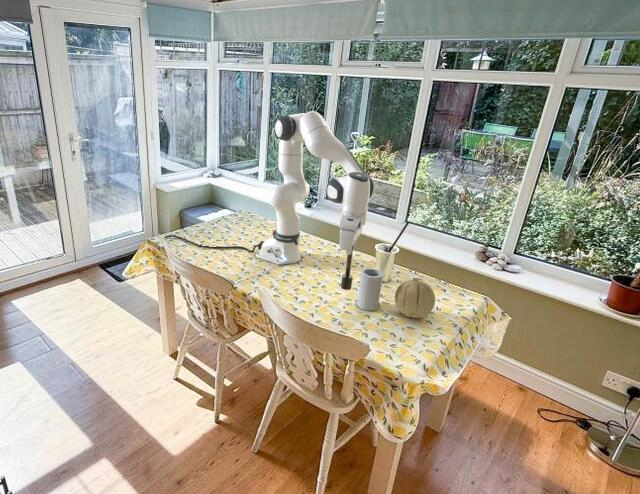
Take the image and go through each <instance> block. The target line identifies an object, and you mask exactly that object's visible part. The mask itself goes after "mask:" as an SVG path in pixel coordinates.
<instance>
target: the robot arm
mask: <svg viewBox="0 0 640 494" xmlns="http://www.w3.org/2000/svg"><path fill="white" fill-rule="evenodd" d="M274 132H275V136H276V137H277V139H278V140H279V141H278V142H279V143H278V161H277V162H278V165H277V166H278V167H277V169H278V171H279V172H280V173H281V174H282V178H283V183H282V184H280V185H277V186H276V187H275V188H273V189H272V190H271V191H270V192H269V194H268V202H269V205H271V206H272V208H273V209H274V210H275V215H276V227H275V229H274V230H273V231H272V232H271V237H269V238H267V239H266V240H260V242H259V243H258V244H255V245H254V246H253V248H252V250H251V249H249V248H247V247H244V246H240V245H234V246H233V245H231V246H216V247H209V246H210V245H206V246H202V245H203V244H200V245H198V244H199V243H197V244H194V243H195V242H194V241H191V240H188V239H187V238H185V237H182V236H179V235H174V234H167V235H166V236H165V237H164V239H168V238H176V239H180V240H183V241H185V242H187V243H189V244H192V245H195V246H198V247H202V248H209V249H243V250H245V251H247V252H250V253H253V252H255V250H256V248H257V252H256V253H255V256H256V258H258V259H261V260H263V261H264V260H265V261H267V262H270V263H273V264H277V265H278V266H282V265H285V264H286V265H287V264H294V263H298V262H299V261H300V260H301V258H302V257H301V251H300V239H301V232H300V223H301V218H300V215H299V214H298V213H297V210H296V205H297V204H298V203H300V202H302V201H304V200H305V199H307V197H309V195H310V191H311V190H310V185H309V184H308V182H307V181H306V179H305V176H304V171H303V170H304V169H303V165H304V163H303V162H304V161H303V159H304V156H303V154H304V146H303V145H304V144H305V146H306V148H307V149H306V150H308V151H309V153H310V154H311V155H312V156H313V157H316V158H319V159H323V160H328V161H332V162H335V163H337V164H339V165H340V166H341V167H342V169H343V170H344V171H345V173H346V175H343V176H337V177H333V178H331V179H330V180H329V181H328V183H327V186H326V195H327V198H328V199H329V201H331V202H332V203H334V204H340V205H342V208H341V214H340V215H341V217H340V218H341V219H340V221H339V224H338V227H339V229H340V230H339V249H340V250H342V251H345V254H346V255H347V254H348V255H351V253H352V246H353V251H354V250H355V246H356V242H357V240H358V239H359V238H360V236H361V234H362V232H363V226H365V225H366V223H367V217H368V203H369V200H370V199H371V198H372V196H373V195H374V193H375V190H376V186H375V185H376V184H375V182H374V180H373V179H372V177H371V176H370V175H369V174H368V173H367V172H366V171H365V170H364V168H363V167H362V166H361V165H360V163H359V162H358V160H357V159H356V157H355V156H354V154H353V153H352V151H351V150H350V149H349V148H348V147H347V145H346V144H344V143H343V142H342V141H340V140H339V139H338V138H337V137H336V136H335V135H334V134H333V132H332V131H331V129H330V126H329V125H328V123H327V121H326V119H324V116H323V115H321V114H320V113H319V112H317V111H314V110H312V111H308V112H303V113H295V114H289V115H287V114H285V115H282V116H279V117H277V119H276V121H275V124H274ZM183 238H184V239H183ZM352 254H353V253H352Z"/></svg>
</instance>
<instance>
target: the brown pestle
mask: <svg viewBox="0 0 640 494" xmlns="http://www.w3.org/2000/svg"><path fill="white" fill-rule="evenodd" d="M353 252H354V250H353V246H352V253H351V255H348V254H346V263H345V271H344V272H345V273H343V274H342V275H341V282H340V288H341V289H342V290H345V291H350V290H351V289H352V284H353V278H354V277H353V275H352V274H351V271H352V270H351V269H352V262H353V261H352V260H353Z"/></svg>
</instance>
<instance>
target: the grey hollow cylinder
mask: <svg viewBox="0 0 640 494" xmlns="http://www.w3.org/2000/svg"><path fill="white" fill-rule="evenodd" d="M382 278H383V273H382V272H381V271H380V270H378V269H376V268H374V267H364V268H363V269H361V272H360V278H359V287H358V293H357V302H356V305H357V307H358V308H360V309H362V310H363V311H369V312H372V311H376V310H378V309H379V303H380V296H381V291H382V284H383V282H382Z"/></svg>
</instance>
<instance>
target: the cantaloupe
mask: <svg viewBox="0 0 640 494" xmlns="http://www.w3.org/2000/svg"><path fill="white" fill-rule="evenodd" d="M394 302H395V306H396V308H397V310H398V311H399V312H400V313H401V314H402V315H403V316H404V317H407V318H411V319H412V318H413V319H421V318H425V317H427V316H429V315H430V314H431V313H432V311H433V310H434V307H435V303H436V295H435V292H434V290H433V288H432V287H431V286H430V285H429V284H428V283H426V282H424V281H422V280H419V279H417V278H416V277H413V278H412V279H411V280H406V281H403V282H402V283H401V284H399V286H398V287H397V288H396V290H395V294H394Z"/></svg>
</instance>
